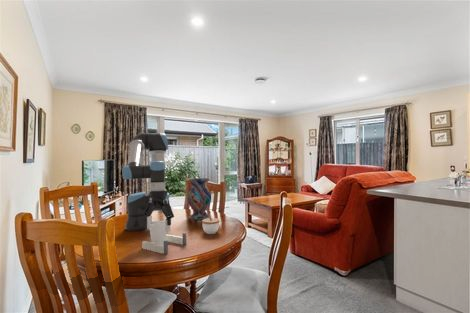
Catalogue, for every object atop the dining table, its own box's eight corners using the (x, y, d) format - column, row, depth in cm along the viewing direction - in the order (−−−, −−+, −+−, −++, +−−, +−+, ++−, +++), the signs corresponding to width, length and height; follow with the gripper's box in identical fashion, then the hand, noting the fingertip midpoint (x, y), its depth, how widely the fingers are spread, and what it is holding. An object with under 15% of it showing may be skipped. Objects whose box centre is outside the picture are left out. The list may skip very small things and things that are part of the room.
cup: (152, 242, 132) (152, 220, 132) (169, 241, 133) (168, 220, 133) (147, 248, 123) (147, 225, 123) (165, 247, 124) (165, 224, 124)
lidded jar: (217, 235, 142) (216, 219, 142) (199, 235, 144) (199, 219, 144) (221, 230, 152) (221, 215, 152) (205, 229, 154) (205, 215, 155)
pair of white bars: (141, 248, 123) (141, 237, 123) (164, 239, 137) (163, 229, 137) (165, 254, 115) (165, 242, 115) (187, 244, 129) (187, 233, 129)
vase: (184, 220, 180) (183, 180, 180) (192, 214, 198) (191, 178, 198) (207, 220, 177) (207, 180, 177) (214, 214, 195) (213, 177, 195)
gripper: (136, 190, 131) (136, 229, 131) (170, 191, 119) (170, 234, 119) (147, 188, 138) (147, 225, 137) (180, 190, 126) (181, 230, 125)
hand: (158, 230), depth 128 cm, fingers open, 13 cm apart
